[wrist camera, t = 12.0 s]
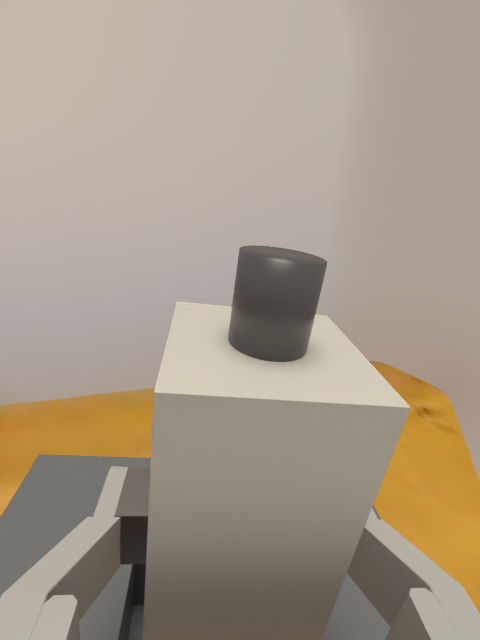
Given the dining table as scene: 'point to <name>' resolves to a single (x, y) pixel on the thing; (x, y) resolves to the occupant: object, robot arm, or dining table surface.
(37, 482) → the socket housing
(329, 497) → the plug
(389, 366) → the dining table surface
